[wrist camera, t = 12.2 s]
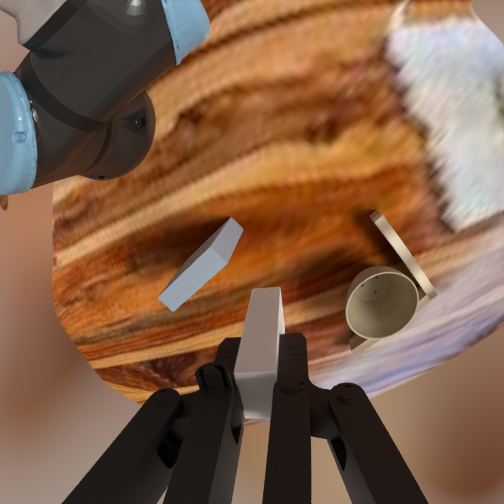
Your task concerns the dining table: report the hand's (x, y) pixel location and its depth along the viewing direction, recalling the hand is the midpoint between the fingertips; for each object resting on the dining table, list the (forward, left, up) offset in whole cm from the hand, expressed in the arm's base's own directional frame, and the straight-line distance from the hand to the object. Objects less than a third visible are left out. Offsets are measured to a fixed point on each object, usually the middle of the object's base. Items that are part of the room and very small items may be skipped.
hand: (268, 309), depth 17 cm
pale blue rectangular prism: (-2, -10, -26) cm, 28 cm away
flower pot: (+17, +2, -26) cm, 31 cm away
